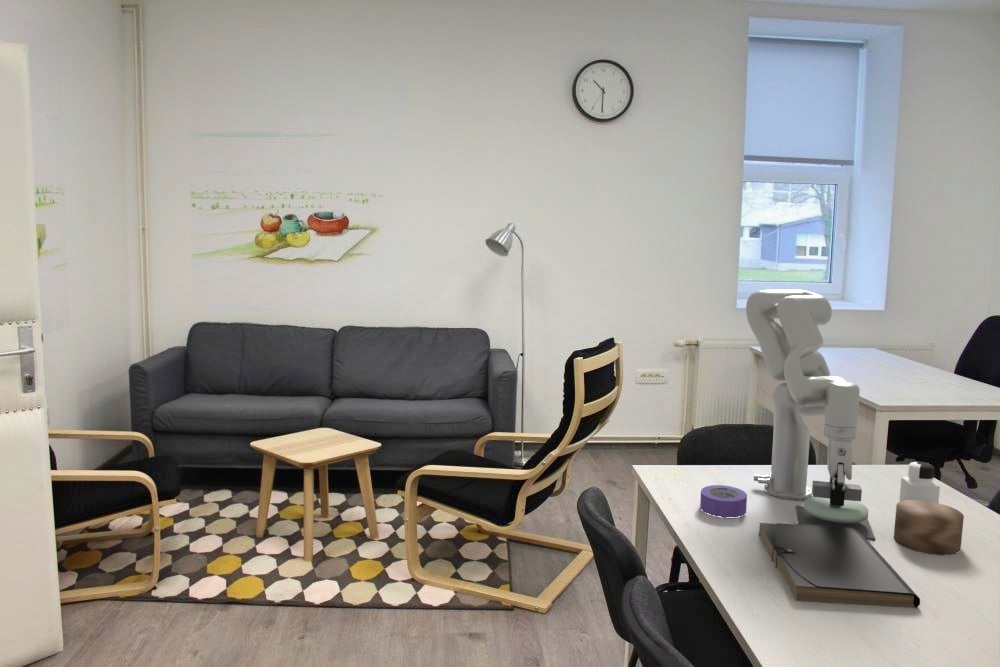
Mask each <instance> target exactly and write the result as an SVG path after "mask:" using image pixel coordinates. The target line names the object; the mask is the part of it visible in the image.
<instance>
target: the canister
mask: <svg viewBox="0 0 1000 667" xmlns="http://www.w3.org/2000/svg"><path fill="white" fill-rule="evenodd" d="M964 519H965V516H964V514H963V513H962V512H961V511H960V510H958V509H956V508H954V507H952V506H949V505H945V504H943V503H939V502H938V503H935V502H929V501H921V500H906V501H901V502H900V501H899V502H897V503H896V507H895V519H894V528H893V530H894V531H893V539H894V540H895V542H896V543H897V544H899V545H901V546H902V547H903V548H906V549H908V550H910V551H915V552H917V553H921V552H922V553H921V554H926V553H927V555H932V554H934V555H933V556H935V555H936V556H951V554H953V555H956V554H958V553H960V552H961V550H960V549H961V547H962V539H963V529H964ZM959 551H960V552H959ZM957 552H958V553H957ZM955 553H956V554H955Z"/></svg>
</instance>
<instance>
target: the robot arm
mask: <svg viewBox="0 0 1000 667" xmlns="http://www.w3.org/2000/svg"><path fill="white" fill-rule="evenodd" d="M745 312H746V314H745V315H746V319H747V320H746V321H747V322H748V325H749V327H750V329H751V331H752V333H753V335H754V337H755V338H756V340H757V342H758V344H759V347H760V351H761V353H762V356H763V360H764V364H765V366H766V370H767V372H768V374H769V376H770V378H771V379H772V380H773V381H775V382H779V384H778V385H776V386H775V387H774V389H773V390H772V393H771V403H772V412H773V436H772V450H771V452H772V453H771V467H770V470H771V471H769V474H768V473H767V474H765V475H762V474H753V481H754V482H757V483H758V484H764V488H763V489H765V490H766V491H767V492H768V494H769V493H770V494H772V495H771V496H773V495H774V496H773V497H776V498H780V499H786V500H795V501H796V500H805V499H807V498H810V497H812V496H813V494H812V488H810V487H808V486H807V485H808V484H807V483H808V467H809V452H810V451H809V450H810V436H811V435H810V434H811V433H810V429H809V427H808V425H807V424H806V423H805V421H804V417H820V416H822V417H823V416H824V423H823V424H824V425H823V426H824V427H823V437H824V438H826V439H828V441H827V442H828V443H827V461H826V462H827V463H826V464H827V465H826V466H827V470H828V473H829V482H832V489H831V492H830V498H829V499H830V504H831V505H836V506H844V497H845V490H844V488H845V484H846V483H845V482H846V479H847V480H848V481H851V479H852V478H853V477H852V476H853V441H855V440H857V438H858V435H857V434H858V423H859V421H858V419H859V409H860V393H861V392H860V386H859V385H858V384H856V383H854V382H850V381H847V380H846V379H845V378H843V377H841V376H836V375H832V374H831V372H830V369H829V366H828V364H827V361H826V359H825V357H824V356H823V354H821V352H820V351H819V349H821V348H822V346H823V344H824V339H823V336H822V334H821V331H820V329H819V326H825V325H827V324H829V322H830V321H831V319H832V316H833V310H832V306H831V303H830V301H829V300H828V299H827V298H826V297H825V296H823V295H821V294H818V293H815V292H811V291H808V290H804V289H763V290H758V291H755V292H753V293H751V294H750V295H749V297H748V298H747V300H746V305H745ZM775 319H778V320H779V322H780V324H781V325H780V324H779V322H777V321H775ZM765 490H764V491H765ZM766 491H765V492H766ZM767 492H766V493H767ZM770 494H769V495H770Z"/></svg>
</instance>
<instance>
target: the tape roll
mask: <svg viewBox="0 0 1000 667" xmlns="http://www.w3.org/2000/svg"><path fill="white" fill-rule="evenodd" d="M747 502H748V494H747V493H746V492H745V491H744V490H743V489H741V488H737V487H736V486H735V487H734V486H729V485H723V484H714V485H707V486H704V487H702V488H701V490H700V502H699V503H700V504H699V505H700V506H699V509H700V508H701V509H702V510H703V511H704V512H706V513H709V514H711V515H715V516H721V517H738V516H742V515H744V514H745V513H746V514H747V504H748V503H747ZM701 509H700V510H701ZM704 512H703V513H704ZM706 513H705V514H706ZM746 514H745V515H746ZM745 515H744V516H745Z"/></svg>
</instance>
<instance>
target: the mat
mask: <svg viewBox="0 0 1000 667" xmlns="http://www.w3.org/2000/svg"><path fill="white" fill-rule="evenodd" d="M803 506H804V505H797V504H796V505H795V511H796V518H797V524H800V525H815V526H830V527H846V528H854V529H857V530H858V531H859V532H861V534H862V535H863V536H864V537H865V538H866V539H867V540H868V541H876V537H875V534H874V532H873V529H872V527H871V524H870V521H869V518H867V519H866V520H864V521H862V522H856V523H840V522H832V521H827V520H823V519H819V518H816V517H814V516H811V515H810V514H808V513H806V512H805V511H804V509H803Z"/></svg>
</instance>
